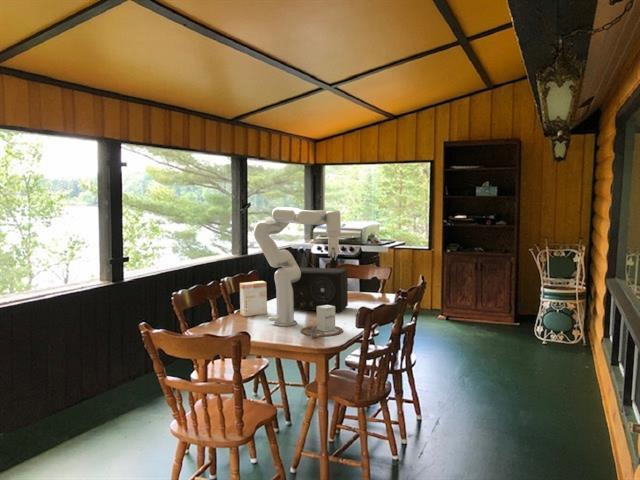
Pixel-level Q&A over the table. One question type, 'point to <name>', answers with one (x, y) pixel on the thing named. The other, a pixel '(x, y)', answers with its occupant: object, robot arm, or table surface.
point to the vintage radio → (321, 288)
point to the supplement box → (325, 318)
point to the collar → (313, 334)
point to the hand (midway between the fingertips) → (334, 266)
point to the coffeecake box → (253, 298)
